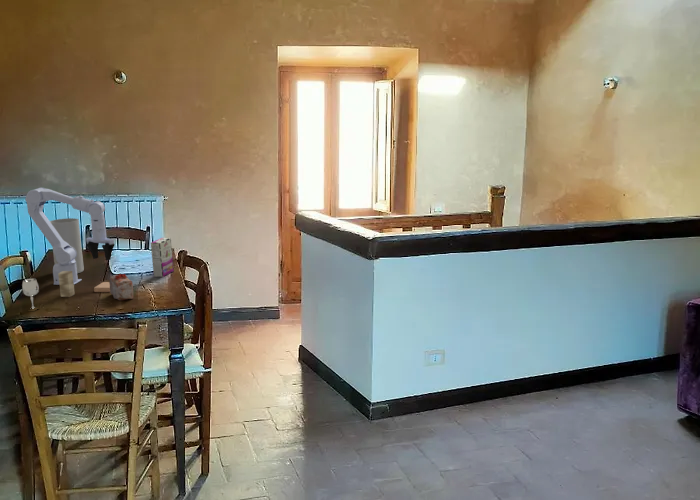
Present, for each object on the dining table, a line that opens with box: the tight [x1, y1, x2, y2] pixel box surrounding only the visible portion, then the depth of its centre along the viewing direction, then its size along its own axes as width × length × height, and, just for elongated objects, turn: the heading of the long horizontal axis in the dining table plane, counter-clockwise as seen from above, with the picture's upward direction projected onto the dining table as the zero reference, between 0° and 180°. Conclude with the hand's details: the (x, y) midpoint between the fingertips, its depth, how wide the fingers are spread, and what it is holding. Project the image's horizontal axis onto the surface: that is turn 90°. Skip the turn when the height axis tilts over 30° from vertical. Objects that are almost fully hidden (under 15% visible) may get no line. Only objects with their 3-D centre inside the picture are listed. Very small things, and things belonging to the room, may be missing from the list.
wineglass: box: [21, 278, 40, 309], centre depth 256 cm, size 6×6×12 cm
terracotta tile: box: [93, 281, 110, 293], centre depth 286 cm, size 2×9×7 cm
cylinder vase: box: [49, 217, 85, 274], centre depth 313 cm, size 12×12×25 cm
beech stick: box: [58, 271, 76, 298], centre depth 276 cm, size 4×4×10 cm
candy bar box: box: [150, 237, 175, 278], centre depth 308 cm, size 11×5×16 cm, turn 168°
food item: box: [108, 273, 134, 301], centre depth 272 cm, size 14×8×10 cm, turn 35°
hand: (102, 259), depth 296 cm, fingers open, 7 cm apart
